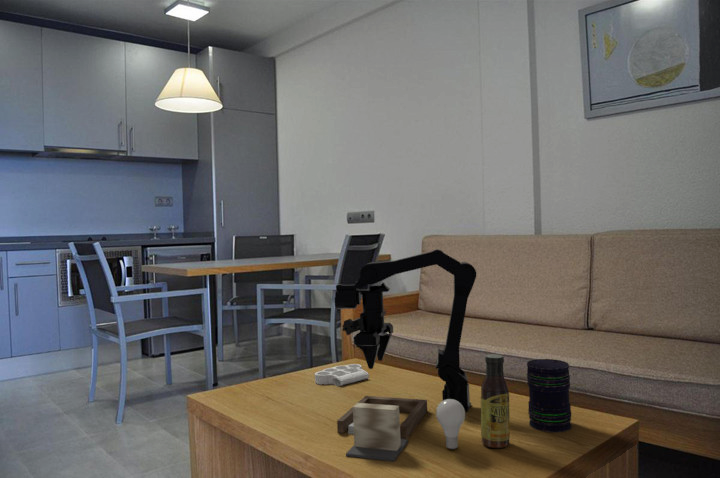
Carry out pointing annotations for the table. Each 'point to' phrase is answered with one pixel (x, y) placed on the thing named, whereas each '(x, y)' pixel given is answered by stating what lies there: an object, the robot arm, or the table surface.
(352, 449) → the mat
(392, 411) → the pale wooden block
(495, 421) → the sauce bottle
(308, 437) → the table surface
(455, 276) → the robot arm
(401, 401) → the frame
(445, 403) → the lightbulb
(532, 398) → the dark blue cylinder
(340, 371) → the knuckle duster
